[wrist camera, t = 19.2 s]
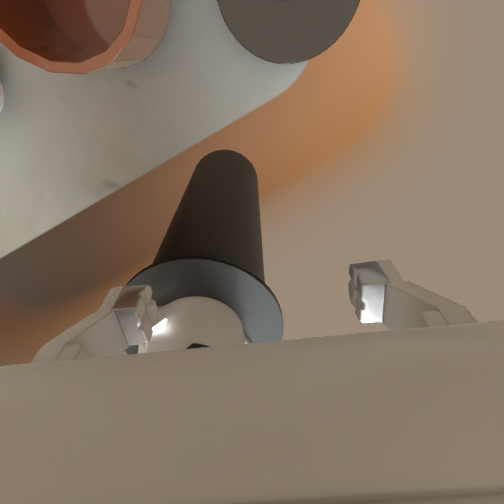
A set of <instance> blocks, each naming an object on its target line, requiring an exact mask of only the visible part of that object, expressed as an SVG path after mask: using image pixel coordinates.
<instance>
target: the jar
mask: <svg viewBox="0 0 504 504" xmlns="http://www.w3.org/2000/svg"><path fill="white" fill-rule="evenodd" d="M170 7H171V0H0V42H1V43H3V44H4V45H5V46H6V47H7V48H8V49H9V50H10V51H11V52H12V53H13V54H15V55H16V56H17V57H19V58H21V59H23V60H25V61H27V62H30V63H32V64H34V65H36V66H38V67H40V68H42V69H45V70H47V71H49V72H53V73H70V74H88V73H95V72H102V71H108V70H115V69H122V68H126V67H128V66H130V65H133V64H136V63H138V62H140V61H142V60H144V59H146V58H147V57H148V56H149V55H150V54H151V53H152V52H153V51H154V50H155V49H156V47H157V46H158V44H159V43H160V41H161V40H162V38H163V36H164V34H165V31H166V28H167V25H168V21H169V16H170Z"/></svg>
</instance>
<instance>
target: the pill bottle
mask: <svg viewBox="0 0 504 504" xmlns="http://www.w3.org/2000/svg"><path fill="white" fill-rule="evenodd" d="M3 105H4V91H3V87H2V83H1V81H0V113H1V111H2V108H3Z"/></svg>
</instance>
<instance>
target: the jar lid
mask: <svg viewBox="0 0 504 504" xmlns="http://www.w3.org/2000/svg"><path fill="white" fill-rule="evenodd" d="M217 1H218V4H219V8H220V11H221V13H222V16H223V18H224V21H225V22H226V24H227V26H228V28H229V30H230V31H231V33H232V34H233V35H234V37H235V38H236V39H237V40H238V42H239V43H240V44H241V45H242V46H243V47H244V48H246V49H247V50H248V51H249V52H251V53H252V54H254V55H255V56H257V57H259V58H261V59H264V60H266V61H270V62H273V63H280V64H293V63H299V62H303V61H306V60H309V59H311V58H313V57H315V56H317V55H319V54H321V53H322V52H324V51H325V50H326V49H328V48H329V47H330V46H331V45H332V44H334V43H335V41H336V40H337V39H338V38H339V37H340V36H341V35H342V34H343V32H344V31H345V29H346V28H347V27H348V25H349V23H350V21H351V20H352V18H353V16H354V14H355V11H356V9H357V7H358V5H359V2H360V0H217Z"/></svg>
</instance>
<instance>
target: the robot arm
mask: <svg viewBox="0 0 504 504" xmlns="http://www.w3.org/2000/svg"><path fill="white" fill-rule="evenodd" d="M349 274H350V276H351V280H350V281H349V296H350V299H351V303H352V305H353V306H355V307H356V315H357V317H358V320H359V322H360V324H365V323H378V322H379V323H380V322H383V324H384V325H386V326H387V327H388V328H390V329H391V330H389V331H378V332H367V333H356V334H346V335H334V336H324V337H313V338H302V339H291V340H280V341H269V342H259V343H251V342H250V340H249V339H248V338H247V337H246V335H245V334H244V330H243V325H242V322H241V320H240V318H239V316H238V315H237V314H236V313H235V311H234V310H233V309H231V308H230V307H229V306H227V305H226V304H224V303H222V302H220V301H218V300H215V299H212V298H208V297H201V296H191V297H184V298H180V299H177V300H175V301H172V302H170V303H169V304H167V305H164V306H160V307H157V304H156V301H154V300H153V299H152V298H151V296H152V294H153V292H152V289H151V286H149V285H136V286H125V287H124V286H123V287H114V288H111V289H110V291H109V293H108V295H107V296H106V298H105V300H104V301H103V303H102V305H101V307H100V308H99V310H98V311H97V312H94V313H92V314H90V315H89V316H87V317H86V318H84V319H83V320H81V321H80V322H78V323H77V324H75V325H74V326H72V327H71V328H69V329H68V330H66V331H65V332H63V333H61V334H60V335H58V336H57V337H55V338H54V339H52V340H51V341H49V342H48V343H46V344H45V345H43V346H42V347H41V349H40V350H39V352H38V353H37V354H36V356H35V357H34V358H33V360H32V361H31V363H30V364H20V365H9V366H0V504H504V320H498V321H487V322H477V320H476V319H475V318H474V317H473V316H472V315H471V313H470V312H469V311H468V310H467V309H466V307H464V306H462V305H460V304H458V303H456V302H453V301H451V300H449V299H447V298H444V297H442V296H440V295H438V294H435V293H433V292H431V291H429V290H427V289H424V288H422V287H420V286H418V285H415V284H413V283H411V282H409V281H407V282H405V281H404V280H403V278H402V277H401V276H400V274H399V273H398V271H397V270H396V269H395V267H394V265H393V264H392V263H391V261H390V260H388V259H386V260H379V261H373V262H364V263H357V264H350V267H349ZM133 345H139V347H138V354H128V355H121V354H122V353H123V352H124V351H125V350H126V349H127V348H128V346H133Z"/></svg>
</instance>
